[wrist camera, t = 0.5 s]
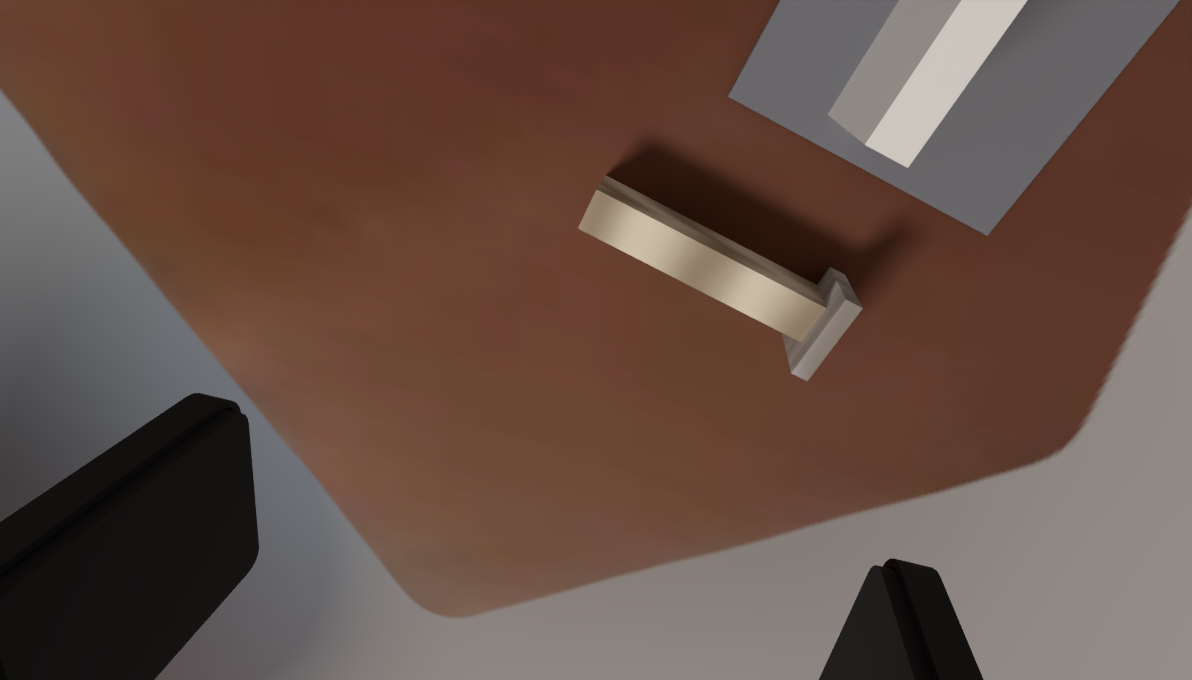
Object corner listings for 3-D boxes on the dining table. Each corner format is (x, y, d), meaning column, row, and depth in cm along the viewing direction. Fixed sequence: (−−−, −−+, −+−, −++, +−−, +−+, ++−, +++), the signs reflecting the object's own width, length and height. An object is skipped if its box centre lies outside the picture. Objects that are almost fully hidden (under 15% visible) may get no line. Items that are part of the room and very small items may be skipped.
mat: (727, 95, 35) (728, 96, 35) (880, -185, 29) (883, -188, 29) (983, 233, 36) (987, 235, 36) (1180, -10, 30) (1187, -10, 30)
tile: (827, 114, 34) (864, 144, 26) (957, -94, 30) (1050, -134, 22) (863, 134, 34) (910, 169, 26) (998, -71, 30) (1105, -102, 22)
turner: (579, 230, 40) (563, 257, 35) (615, 154, 37) (603, 173, 33) (796, 341, 41) (807, 381, 36) (844, 274, 38) (862, 308, 34)
